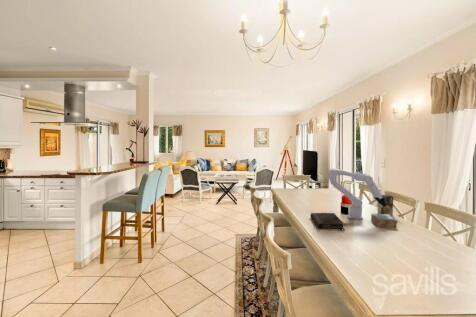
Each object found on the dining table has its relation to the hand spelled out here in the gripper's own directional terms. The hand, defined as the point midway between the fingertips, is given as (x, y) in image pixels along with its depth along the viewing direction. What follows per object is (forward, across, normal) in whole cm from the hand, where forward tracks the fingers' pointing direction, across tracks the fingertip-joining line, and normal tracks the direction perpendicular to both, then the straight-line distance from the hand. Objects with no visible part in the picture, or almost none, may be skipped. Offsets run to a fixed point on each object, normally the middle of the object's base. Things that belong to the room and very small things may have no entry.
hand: (383, 205), depth 182 cm
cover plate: (+5, -11, +6) cm, 14 cm away
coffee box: (+12, +16, +1) cm, 20 cm away
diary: (-10, -21, +43) cm, 48 cm away
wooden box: (+9, -11, +8) cm, 17 cm away
